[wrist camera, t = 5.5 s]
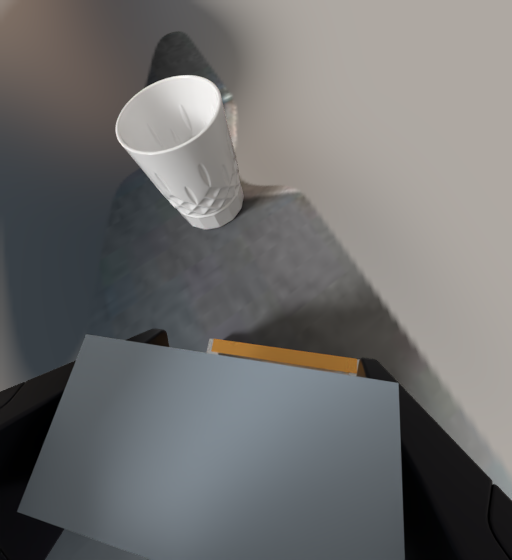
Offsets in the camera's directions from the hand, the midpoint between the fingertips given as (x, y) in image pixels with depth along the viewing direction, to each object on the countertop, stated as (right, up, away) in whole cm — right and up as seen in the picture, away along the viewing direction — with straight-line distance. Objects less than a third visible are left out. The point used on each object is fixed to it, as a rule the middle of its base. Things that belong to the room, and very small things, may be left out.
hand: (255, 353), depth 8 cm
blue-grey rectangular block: (+1, -4, +5) cm, 7 cm away
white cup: (-4, +10, +19) cm, 22 cm away
